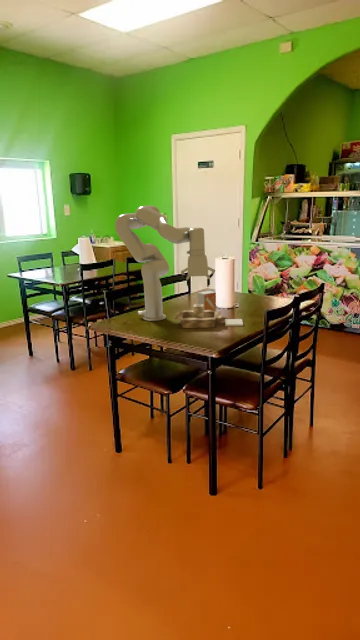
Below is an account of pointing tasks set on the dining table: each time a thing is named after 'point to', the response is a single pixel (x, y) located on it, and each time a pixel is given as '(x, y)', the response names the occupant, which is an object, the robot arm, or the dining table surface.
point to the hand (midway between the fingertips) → (198, 286)
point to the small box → (207, 300)
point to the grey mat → (233, 322)
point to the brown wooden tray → (198, 319)
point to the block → (198, 311)
